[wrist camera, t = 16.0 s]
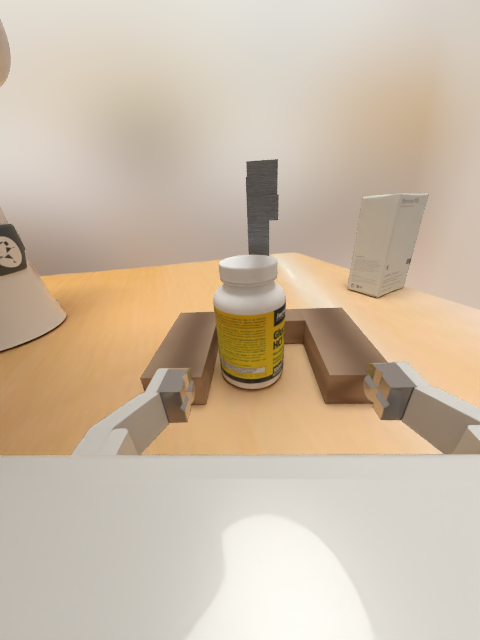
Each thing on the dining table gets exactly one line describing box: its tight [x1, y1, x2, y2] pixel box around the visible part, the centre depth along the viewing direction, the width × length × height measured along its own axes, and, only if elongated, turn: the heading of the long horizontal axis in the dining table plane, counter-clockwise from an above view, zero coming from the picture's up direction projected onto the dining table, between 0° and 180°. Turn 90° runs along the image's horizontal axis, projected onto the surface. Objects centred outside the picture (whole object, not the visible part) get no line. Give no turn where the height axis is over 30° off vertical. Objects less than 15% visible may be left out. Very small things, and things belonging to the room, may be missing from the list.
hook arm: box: [246, 160, 278, 256], centre depth 20 cm, size 2×12×17 cm, turn 178°
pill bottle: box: [213, 255, 286, 389], centre depth 21 cm, size 6×6×11 cm
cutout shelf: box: [140, 308, 388, 404], centre depth 24 cm, size 20×12×3 cm, turn 88°
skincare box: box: [347, 194, 429, 298], centre depth 37 cm, size 8×6×15 cm
